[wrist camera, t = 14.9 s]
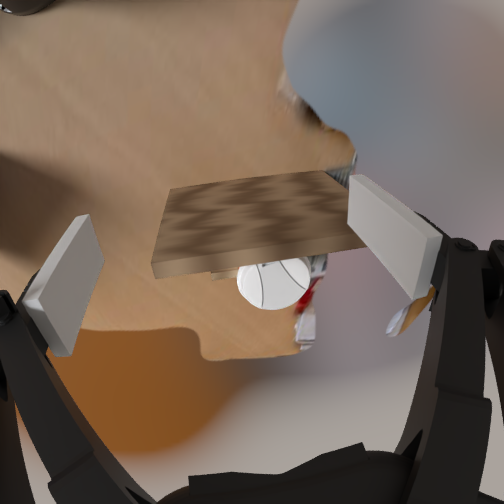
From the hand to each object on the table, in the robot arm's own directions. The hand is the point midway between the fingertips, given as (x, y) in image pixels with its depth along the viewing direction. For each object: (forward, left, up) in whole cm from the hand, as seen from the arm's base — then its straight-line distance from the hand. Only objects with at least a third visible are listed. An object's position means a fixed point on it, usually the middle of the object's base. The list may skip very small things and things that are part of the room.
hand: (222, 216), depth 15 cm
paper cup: (+4, -12, -25) cm, 28 cm away
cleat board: (+5, -13, -29) cm, 32 cm away
